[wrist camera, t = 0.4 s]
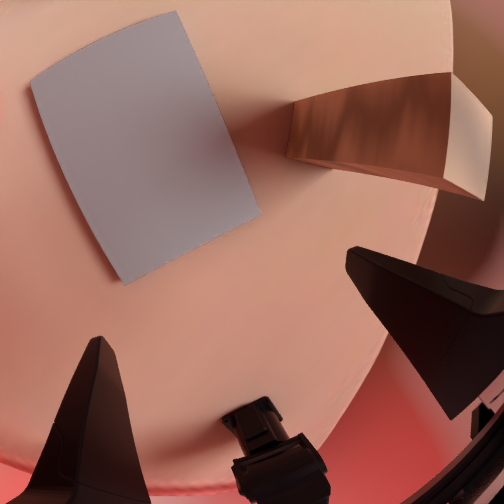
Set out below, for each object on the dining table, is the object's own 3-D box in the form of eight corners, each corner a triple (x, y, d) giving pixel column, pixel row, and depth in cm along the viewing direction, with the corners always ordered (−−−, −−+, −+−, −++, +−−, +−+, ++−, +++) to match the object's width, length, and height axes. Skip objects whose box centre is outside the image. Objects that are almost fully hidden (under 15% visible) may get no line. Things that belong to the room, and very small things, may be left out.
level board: (256, 211, 23) (261, 214, 22) (125, 279, 21) (124, 285, 20) (174, 16, 16) (176, 10, 14) (35, 84, 14) (29, 81, 12)
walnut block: (333, 168, 24) (483, 201, 11) (285, 157, 23) (443, 177, 9) (342, 117, 23) (492, 116, 10) (295, 101, 21) (451, 72, 8)
